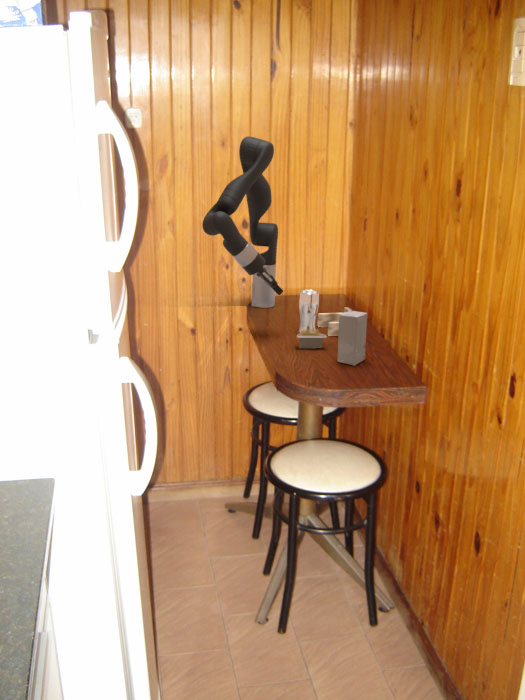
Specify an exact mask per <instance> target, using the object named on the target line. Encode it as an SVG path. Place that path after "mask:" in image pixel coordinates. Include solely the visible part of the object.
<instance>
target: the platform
mask: <svg viewBox="0 0 525 700" xmlns="http://www.w3.org/2000/svg"><path fill="white" fill-rule="evenodd" d="M303 330H304V331H303ZM306 330H309V331H310V333H308V331H307V332H306ZM311 330H315V331H314V332H315V333H312V331H311ZM296 337H297V338H298V339H299V344H298V345H299V347H298V348H299V349H308V348H307V347H323V346H324V339H327V337H328V336H327V334H324V333H321V332H320V330H319V329H318V328H317V329H316V328H315V329H302V333H297V335H296Z"/></svg>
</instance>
